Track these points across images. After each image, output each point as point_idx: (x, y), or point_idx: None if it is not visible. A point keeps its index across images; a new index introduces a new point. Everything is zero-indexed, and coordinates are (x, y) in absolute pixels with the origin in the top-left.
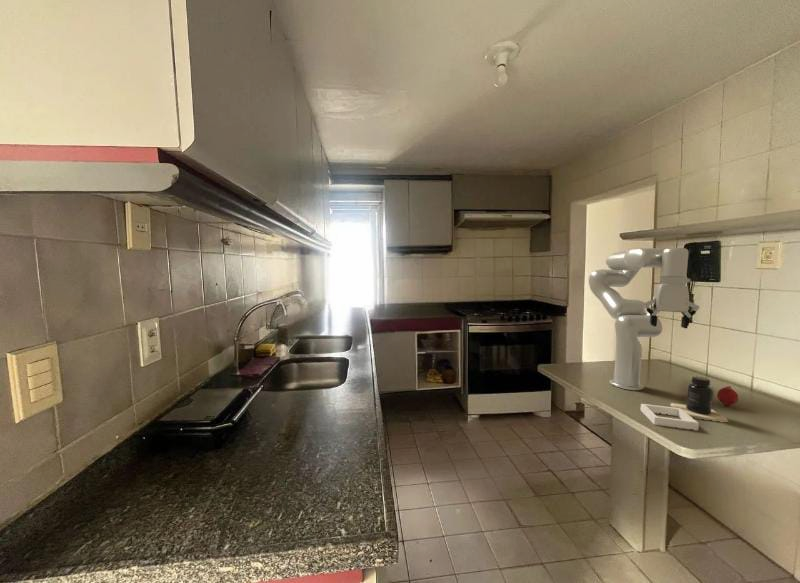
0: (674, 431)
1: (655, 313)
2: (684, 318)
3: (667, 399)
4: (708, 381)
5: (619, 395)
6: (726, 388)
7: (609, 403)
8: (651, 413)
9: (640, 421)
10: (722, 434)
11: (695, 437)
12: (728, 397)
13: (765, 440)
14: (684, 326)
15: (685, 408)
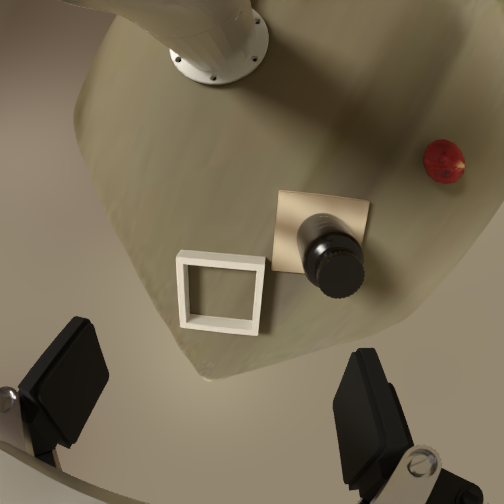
0: (210, 337)
1: (47, 459)
2: (352, 468)
3: (297, 137)
4: (348, 295)
5: (162, 148)
6: (451, 168)
7: (122, 224)
8: (180, 310)
9: (163, 309)
10: (296, 330)
11: (236, 350)
12: (436, 180)
13: (358, 332)
14: (335, 407)
15: (297, 226)
